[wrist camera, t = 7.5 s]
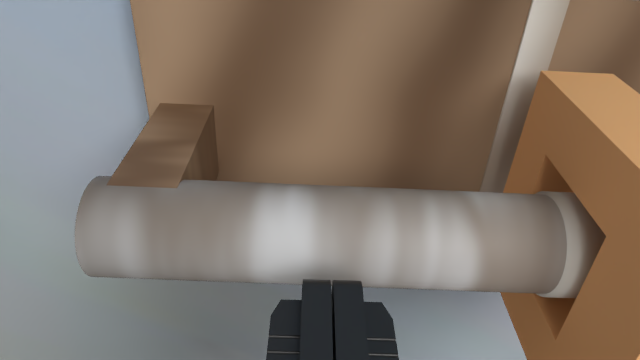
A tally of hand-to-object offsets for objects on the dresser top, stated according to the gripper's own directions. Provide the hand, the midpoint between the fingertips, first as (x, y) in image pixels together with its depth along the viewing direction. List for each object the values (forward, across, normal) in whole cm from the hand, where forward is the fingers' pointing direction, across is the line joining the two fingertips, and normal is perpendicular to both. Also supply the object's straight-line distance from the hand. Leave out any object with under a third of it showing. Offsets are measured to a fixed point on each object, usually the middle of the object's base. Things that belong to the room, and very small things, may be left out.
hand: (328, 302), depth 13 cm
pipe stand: (+10, -4, 0) cm, 10 cm away
